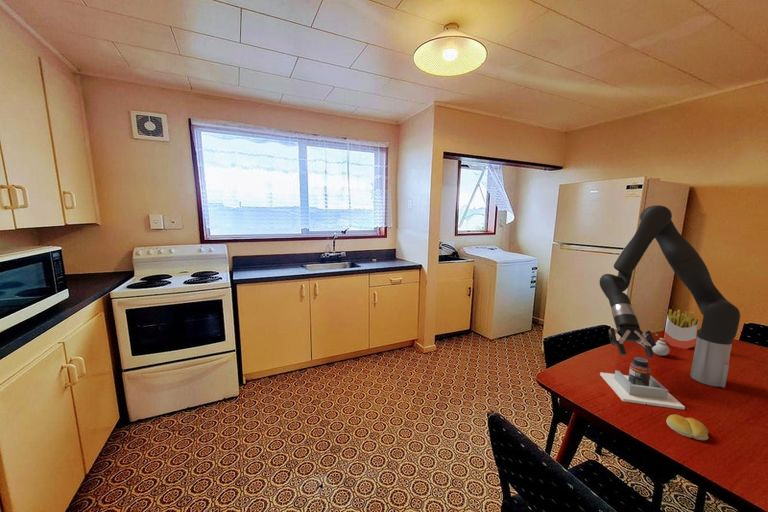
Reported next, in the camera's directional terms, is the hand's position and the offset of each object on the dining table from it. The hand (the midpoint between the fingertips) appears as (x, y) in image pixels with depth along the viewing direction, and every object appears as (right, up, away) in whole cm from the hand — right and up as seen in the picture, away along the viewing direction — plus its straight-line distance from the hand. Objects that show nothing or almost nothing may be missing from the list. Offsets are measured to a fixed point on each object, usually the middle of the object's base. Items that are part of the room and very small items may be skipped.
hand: (637, 356), depth 113 cm
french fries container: (+51, -7, +35) cm, 62 cm away
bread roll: (-3, -16, -22) cm, 27 cm away
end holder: (-1, -12, -2) cm, 13 cm away
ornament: (+33, -8, +27) cm, 43 cm away
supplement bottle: (-1, -12, -2) cm, 12 cm away
